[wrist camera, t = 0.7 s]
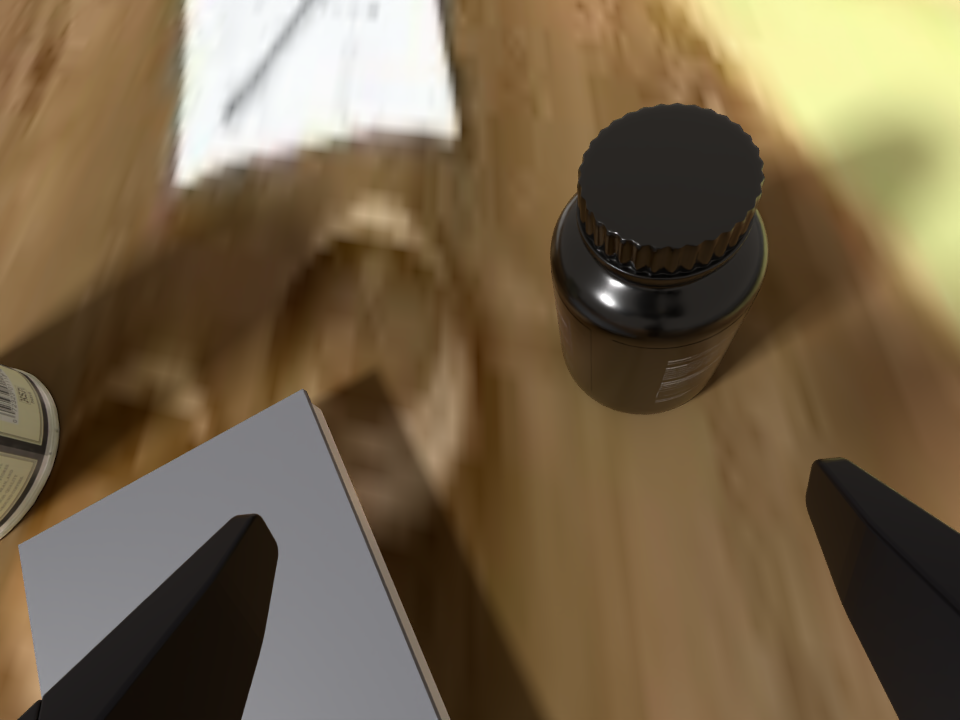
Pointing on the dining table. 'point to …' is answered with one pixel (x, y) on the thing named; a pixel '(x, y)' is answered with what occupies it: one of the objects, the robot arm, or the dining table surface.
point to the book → (297, 584)
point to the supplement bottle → (658, 255)
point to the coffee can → (24, 443)
